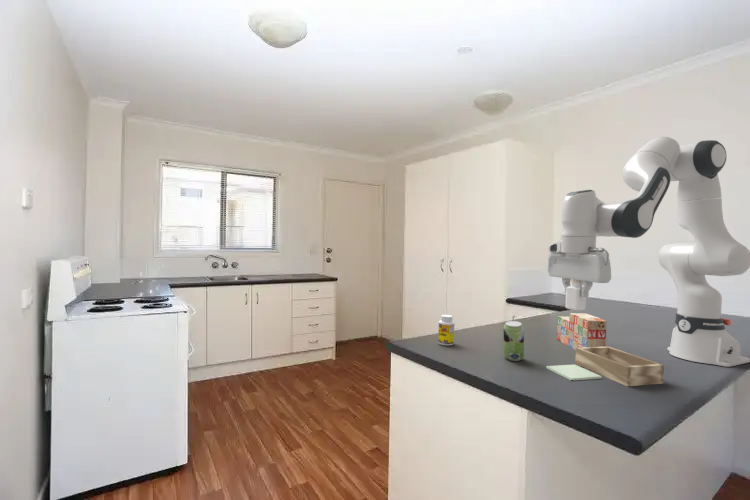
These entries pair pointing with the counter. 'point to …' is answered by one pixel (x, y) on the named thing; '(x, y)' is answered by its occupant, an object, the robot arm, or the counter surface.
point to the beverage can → (513, 340)
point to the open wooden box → (620, 366)
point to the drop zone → (573, 372)
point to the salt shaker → (575, 296)
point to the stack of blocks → (581, 330)
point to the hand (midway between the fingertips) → (576, 295)
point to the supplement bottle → (446, 330)
